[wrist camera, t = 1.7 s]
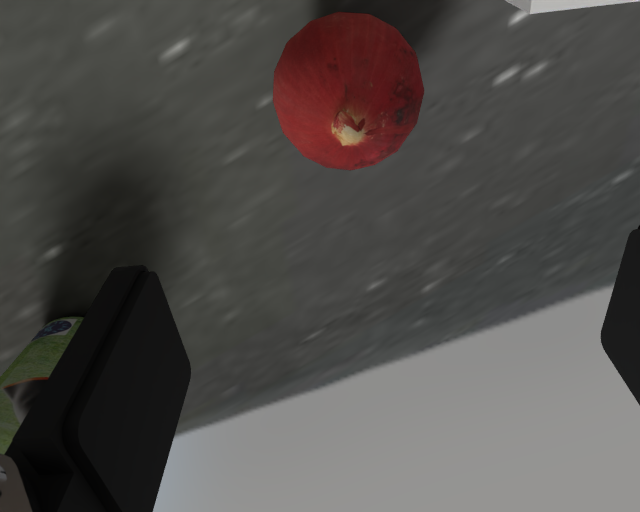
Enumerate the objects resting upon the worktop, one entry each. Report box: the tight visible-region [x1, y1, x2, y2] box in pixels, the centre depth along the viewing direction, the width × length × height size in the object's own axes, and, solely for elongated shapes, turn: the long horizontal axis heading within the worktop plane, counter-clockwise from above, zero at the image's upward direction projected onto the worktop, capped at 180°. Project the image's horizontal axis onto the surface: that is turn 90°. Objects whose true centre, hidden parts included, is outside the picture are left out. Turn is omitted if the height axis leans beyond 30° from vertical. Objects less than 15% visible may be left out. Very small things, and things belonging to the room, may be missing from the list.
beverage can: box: [0, 317, 84, 455], centre depth 27 cm, size 6×7×12 cm
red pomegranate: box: [273, 12, 424, 170], centre depth 19 cm, size 6×6×8 cm
